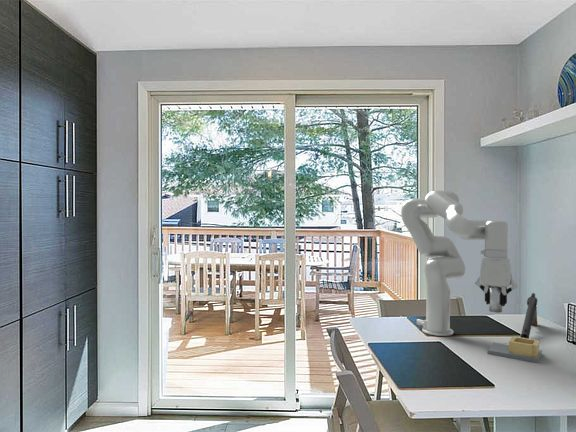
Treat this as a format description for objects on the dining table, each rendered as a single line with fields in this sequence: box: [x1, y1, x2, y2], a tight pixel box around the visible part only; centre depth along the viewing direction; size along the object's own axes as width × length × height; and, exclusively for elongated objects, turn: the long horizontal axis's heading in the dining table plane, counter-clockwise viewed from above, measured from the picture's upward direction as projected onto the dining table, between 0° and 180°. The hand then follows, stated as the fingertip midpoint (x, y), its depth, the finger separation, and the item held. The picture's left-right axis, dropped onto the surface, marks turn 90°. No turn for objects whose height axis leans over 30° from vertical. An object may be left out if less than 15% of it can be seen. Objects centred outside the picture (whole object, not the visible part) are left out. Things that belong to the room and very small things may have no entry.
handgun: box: [519, 292, 538, 339], centre depth 191 cm, size 31×4×15 cm, turn 145°
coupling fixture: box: [487, 336, 543, 364], centre depth 162 cm, size 16×12×5 cm
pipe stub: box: [488, 286, 503, 314], centre depth 162 cm, size 4×4×9 cm
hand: (495, 304), depth 162 cm, fingers closed on pipe stub, 4 cm apart
